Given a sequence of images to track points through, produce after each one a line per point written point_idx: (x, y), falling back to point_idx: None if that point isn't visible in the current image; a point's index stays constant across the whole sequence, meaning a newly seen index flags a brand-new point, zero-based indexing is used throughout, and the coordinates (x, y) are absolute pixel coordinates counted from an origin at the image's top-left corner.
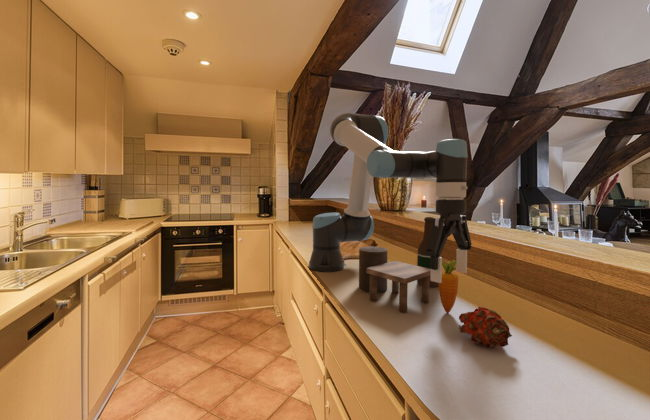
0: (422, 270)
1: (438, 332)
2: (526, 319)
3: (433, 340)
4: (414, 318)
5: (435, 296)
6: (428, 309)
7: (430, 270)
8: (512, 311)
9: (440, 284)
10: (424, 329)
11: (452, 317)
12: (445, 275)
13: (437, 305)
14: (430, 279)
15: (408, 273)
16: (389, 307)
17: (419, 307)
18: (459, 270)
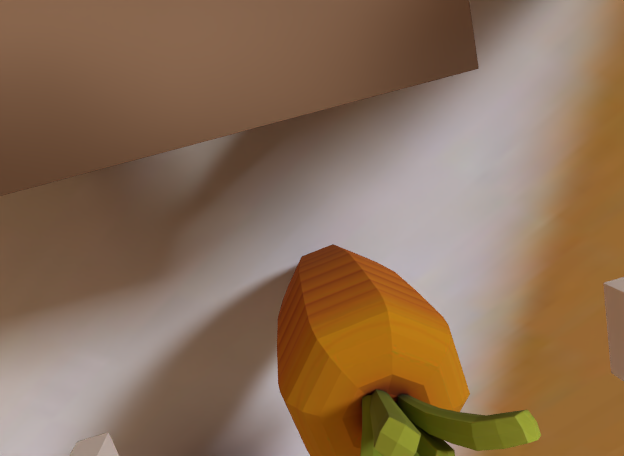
0: (322, 35)
1: (106, 406)
2: (578, 441)
3: (30, 453)
4: (88, 242)
5: None
6: (258, 176)
7: (420, 83)
8: None
9: (284, 331)
10: (58, 362)
11: None
12: (309, 434)
13: (355, 152)
14: (71, 453)
15: (30, 65)
16: None
17: None
18: (622, 323)
